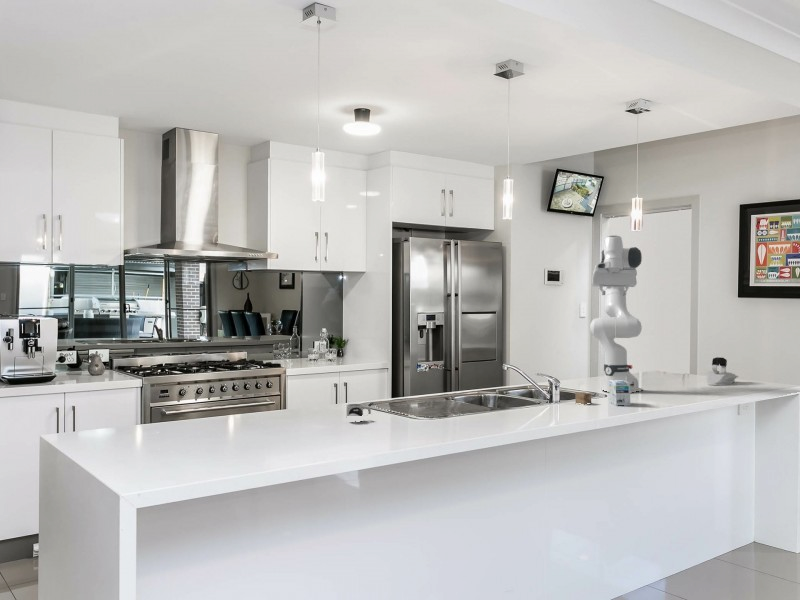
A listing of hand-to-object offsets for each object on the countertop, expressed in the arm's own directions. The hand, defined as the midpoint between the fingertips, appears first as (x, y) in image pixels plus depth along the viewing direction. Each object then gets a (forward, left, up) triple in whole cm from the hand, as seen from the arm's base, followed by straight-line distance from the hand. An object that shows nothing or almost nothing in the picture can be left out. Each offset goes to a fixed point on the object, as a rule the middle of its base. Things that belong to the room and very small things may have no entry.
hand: (614, 295), depth 325 cm
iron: (-105, -12, -51) cm, 117 cm away
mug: (+123, -27, -51) cm, 136 cm away
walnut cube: (+15, -5, -50) cm, 53 cm away
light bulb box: (+3, +6, -51) cm, 51 cm away
